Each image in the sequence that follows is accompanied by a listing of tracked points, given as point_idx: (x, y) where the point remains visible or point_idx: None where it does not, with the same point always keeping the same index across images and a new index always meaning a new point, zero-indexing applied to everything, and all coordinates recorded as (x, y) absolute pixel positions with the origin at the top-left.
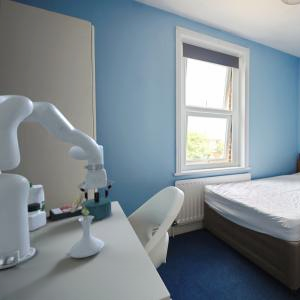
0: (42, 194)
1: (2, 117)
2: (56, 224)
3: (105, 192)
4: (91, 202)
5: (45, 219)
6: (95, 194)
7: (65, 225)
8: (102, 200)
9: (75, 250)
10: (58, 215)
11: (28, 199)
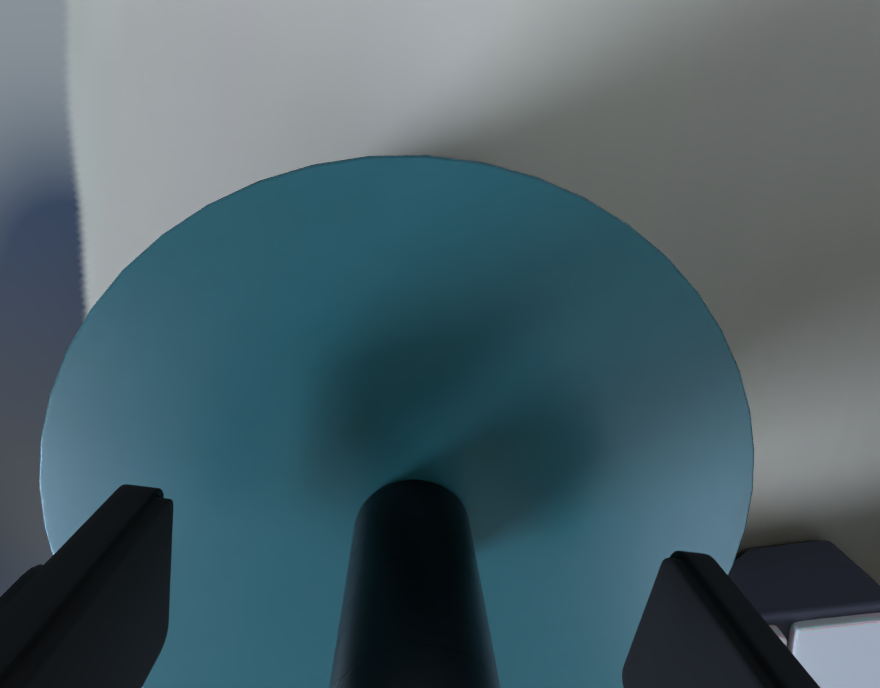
0: None
1: None
2: (837, 436)
3: (32, 660)
4: (534, 530)
5: None
6: (479, 684)
7: (784, 332)
8: (281, 540)
9: None
10: (838, 589)
11: None
